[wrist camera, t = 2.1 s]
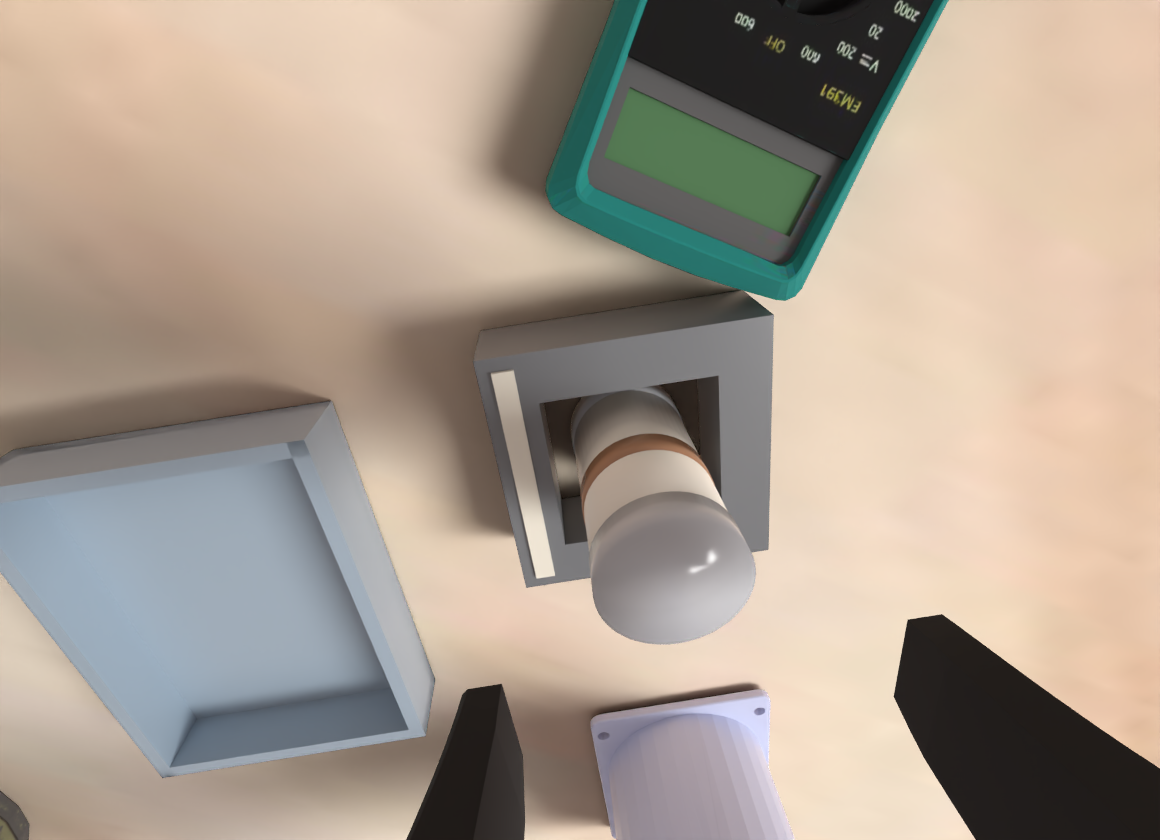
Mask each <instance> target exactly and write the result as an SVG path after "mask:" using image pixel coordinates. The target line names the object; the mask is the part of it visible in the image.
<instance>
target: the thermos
mask: <svg viewBox="0 0 1160 840" xmlns="http://www.w3.org/2000/svg"><path fill="white" fill-rule="evenodd" d="M0 840H29V823H28V822H27V820H26V818H25V817H24V815H23V813H22V811H21V810H20V808H19V807H18V806H17V805H16V804H15V803H14V802H12V801H11V800H10V799H9V798H8V797H6V796H5V795H4V794H3V793H2V792H0Z"/></svg>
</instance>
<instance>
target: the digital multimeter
mask: <svg viewBox="0 0 1160 840" xmlns="http://www.w3.org/2000/svg"><path fill="white" fill-rule="evenodd" d="M947 2H948V0H614V3H613V6H612V9H611V12H610V15H609V17H608V20H607V23H606V25H605V28H604V30H603V33H602V36H601V38H600V41H599V43H598V46H597V49H596V51H595V54H594V56H593V59H592V62H591V64H590V67H589V70H588V72H587V75H586V77H585V80H584V83H583V85H582V88H581V90H580V93H579V96H578V98H577V101H576V103H575V106H574V109H573V111H572V114H571V116H570V119H569V122H568V124H567V127H566V130H565V132H564V135H563V137H562V140H561V143H560V145H559V148H558V150H557V153H556V156H555V158H554V161H553V163H552V166H551V169H550V171H549V174H548V176H547V179H546V189H545V191H546V194H547V197H548V199H549V202H550V204H551V206H552V208H553V209H554V210H555V211H557V212H558V213H559V214H561V215H562V216H564V217H566V218H568V219H570V220H572V221H574V222H576V223H578V224H580V225H582V226H584V227H586V228H588V229H590V230H592V231H594V232H596V233H598V234H600V235H602V236H604V237H606V238H609V239H611V240H613V241H615V242H617V243H619V244H622V245H624V246H626V247H628V248H630V249H632V250H635V251H637V252H639V253H641V254H643V255H645V256H648V257H650V258H652V259H655V260H657V261H660V262H662V263H665V264H668V265H670V266H673V267H675V268H678V269H680V270H683V271H685V272H688V273H691V274H693V275H696V276H699V277H702V278H705V279H709V280H712V281H715V282H718V283H721V284H724V285H727V286H730V287H733V288H737V289H740V290H744V291H747V292H751V293H754V294H758V295H761V296H765V297H768V298H772V299H775V300H784V301H786V300H788V299H790V298H792V297H795V296H796V294H797V293H798V292H799V291H800V290H801V289H802V287H803V285H804V283H805V281H806V279H807V277H808V275H809V273H810V271H811V269H812V267H813V265H814V263H815V261H816V259H817V256H818V254H819V252H820V250H821V248H822V246H823V244H824V242H825V240H826V238H827V236H828V234H829V232H830V230H831V228H832V226H833V224H834V222H835V220H836V218H837V216H838V214H839V212H840V210H841V208H842V206H843V204H844V202H845V200H846V198H847V196H848V193H849V191H850V189H851V187H852V185H853V183H854V181H855V179H856V177H857V175H858V173H859V171H860V169H861V167H862V165H863V163H864V161H865V159H866V157H867V155H868V153H869V151H870V149H871V147H872V145H873V143H874V141H875V139H876V137H877V135H878V133H879V131H880V129H881V127H882V125H883V123H884V121H885V119H886V118H887V116H888V114H889V112H890V110H891V108H892V106H893V104H894V102H895V100H896V99H897V97H898V95H899V93H900V91H901V89H902V87H903V85H904V83H905V82H906V80H907V78H908V76H909V74H910V72H911V70H912V68H913V66H914V64H915V63H916V61H917V59H918V57H919V55H920V53H921V51H922V49H923V47H924V46H925V44H926V42H927V40H928V38H929V36H930V34H931V32H932V30H933V29H934V27H935V25H936V23H937V21H938V19H939V17H940V15H941V13H942V11H943V10H944V8H945V6H946V4H947ZM867 6H868V7H867ZM866 7H867V8H866ZM853 15H854V16H853ZM851 16H852V17H851ZM785 17H786V18H785ZM849 17H850V18H849ZM835 22H836V23H835ZM801 23H802V24H801ZM831 23H832V24H831ZM758 256H759V257H758ZM760 257H761V258H760ZM762 258H763V259H762ZM765 259H766V260H765ZM767 260H768V261H767ZM769 261H771V262H773V263H771V262H769Z"/></svg>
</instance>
